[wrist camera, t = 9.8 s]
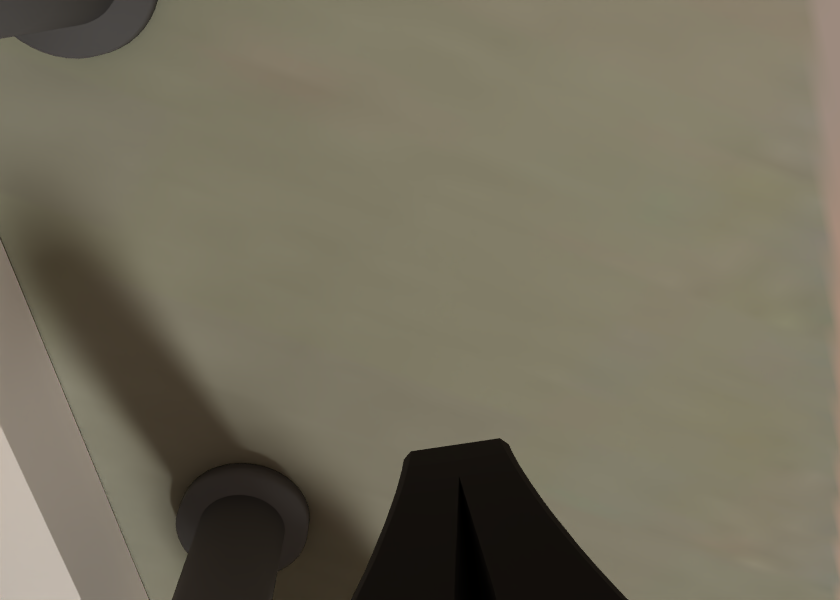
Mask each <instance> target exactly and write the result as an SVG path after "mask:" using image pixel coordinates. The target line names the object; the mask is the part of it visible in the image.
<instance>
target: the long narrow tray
mask: <svg viewBox="0 0 840 600" xmlns="http://www.w3.org/2000/svg"><path fill="white" fill-rule="evenodd" d="M0 600H149V598H148V596H147V594H146V591H145V589H144V586H143V584H142V581H141V579H140V577H139V574H138V572H137V569H136V567H135V564H134V562H133V560H132V557H131V555H130V552H129V550H128V548H127V545H126V543H125V540H124V538H123V535H122V533H121V531H120V528H119V526H118V523H117V521H116V518H115V516H114V514H113V511H112V509H111V506H110V504H109V501H108V499H107V497H106V494H105V492H104V489H103V487H102V484H101V482H100V480H99V477H98V475H97V472H96V470H95V467H94V465H93V463H92V460H91V458H90V455H89V453H88V451H87V448H86V446H85V443H84V441H83V438H82V436H81V434H80V431H79V429H78V426H77V424H76V421H75V419H74V417H73V414H72V412H71V409H70V407H69V404H68V402H67V400H66V397H65V395H64V392H63V390H62V387H61V385H60V383H59V380H58V378H57V375H56V373H55V370H54V368H53V366H52V363H51V361H50V358H49V356H48V354H47V351H46V349H45V346H44V344H43V341H42V339H41V337H40V334H39V332H38V329H37V327H36V324H35V322H34V320H33V317H32V315H31V312H30V310H29V307H28V305H27V303H26V300H25V298H24V295H23V293H22V290H21V288H20V286H19V283H18V281H17V278H16V276H15V273H14V271H13V269H12V266H11V264H10V261H9V259H8V257H7V254H6V252H5V249H4V247H3V244H2V242H1V240H0Z"/></svg>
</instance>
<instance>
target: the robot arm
mask: <svg viewBox="0 0 840 600" xmlns="http://www.w3.org/2000/svg"><path fill="white" fill-rule="evenodd" d="M351 600H628V599H627V598H626V597H625V596H624V595H623V594H622V593H621V592H620V591H619V590H618V589H617V588H616V587H615V586H614V585H613V583H612V582H611V581H610V580H609V579H608V578H607V577H606V576H605V575H604V574H603V573H602V572H601V570H600V569H599V568H598V567H597V566H596V565H595V564H594V563H593V562H592V560H591V559H590V558H589V557H588V556H587V555H586V553H585V552H584V551H583V550H582V549H581V548H580V547H579V545H578V544H577V543H576V542H575V540H574V539H573V538H572V537H571V535H570V534H569V533H568V532H567V530H566V529H565V528H564V527H563V526H562V524H561V523H560V522H559V521H558V519H557V518H556V517H555V516H554V514H553V513H552V512H551V510H550V509H549V508H548V506H547V505H546V504H545V502H544V501H543V500H542V498H541V497H540V495H539V494H538V493H537V491H536V490H535V488H534V487H533V485H532V484H531V482H530V481H529V479H528V478H527V476H526V475H525V473H524V472H523V470H522V468H521V467H520V465H519V464H518V462H517V460H516V458H515V456H514V455H513V453H512V451H511V449H510V446H509V444H507V443H506V442H504V441H503V440H502V439H500V438H499V439H492V440H485V441H478V442H472V443H465V444H458V445H451V446H444V447H438V448H431V449H424V450H417V451H411V452H410V453H409V454H408V455H407V457H406V458H405V459H404V462H403V467H402V472H401V476H400V479H399V483H398V486H397V490H396V493H395V496H394V499H393V502H392V505H391V508H390V510H389V513H388V516H387V519H386V522H385V524H384V527H383V529H382V532H381V534H380V536H379V539H378V541H377V544H376V546H375V548H374V551H373V553H372V556H371V558H370V561H369V563H368V565H367V568H366V570H365V572H364V574H363V576H362V578H361V580H360V582H359V585H358V587H357V589H356V591H355V593H354V595H353V597H352V599H351Z"/></svg>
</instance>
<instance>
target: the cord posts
mask: <svg viewBox="0 0 840 600" xmlns="http://www.w3.org/2000/svg"><path fill="white" fill-rule="evenodd" d="M157 1H158V0H0V39H1V38H6V37H12V36H15V37H16V38H17V39H19V40H20V41H22V42H23V43H25V44H27V45H29V46H30V47H32V48H35V49H37V50H39V51H41V52H44V53H47V54H50V55H54V56H59V57H64V58H89V57H94V56H98V55H102V54H105V53H109V52H112V51H114V50H117V49H119V48H121V47H123V46H124V45H126V44H128V43H129V42H131V41H132V40H133V39H134V38H135V37H137V36H138V35H139V33H140V32H141V31H142V30H143V29H144V28H145V26H146V25H147V23H148V22H149V20H150V19H151V17H152V14H153V12H154V10H155V7H156V4H157ZM308 526H309V509H308V505H307V502H306V499H305V498H304V496H303V494H302V493H301V491H300V490H299V488H298V487H297V486H296V485H295V484H294V483H293V482H292V481H290V480H289V479H288V478H287V477H285V476H283V475H282V474H280V473H278V472H276V471H274V470H272V469H269V468H266V467H263V466H258V465H253V464H229V465H224V466H220V467H217V468H214V469H212V470H209V471H207V472H205V473H204V474H202V475H201V476H199V477H198V478H197V479H196V480H195V481H194V482H193V483H192V484H191V485H190V486H189V488H188V489H187V491H186V492H185V495H184V497H183V500H182V502H181V505H180V507H179V510H178V513H177V517H176V530H177V534H178V538H179V540H180V542H181V544H182V546H183V548H184V549H185V551H186V552H187V553H188V555H187V558H186V561H185V564H184V567H183V569H182V572H181V575H180V578H179V581H178V584H177V587H176V590H175V592H174V595H173V598H172V600H272V597H273V592H274V587H275V582H276V576H277V571H280V570H282V569H283V568H285V567H287V566H288V565H289V564H291V563H292V562H293V561H294V560H295V559H296V558H297V557H298V556H299V554H300V553H301V551H302V550H303V548H304V546H305V543H306V540H307V533H308Z"/></svg>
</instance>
